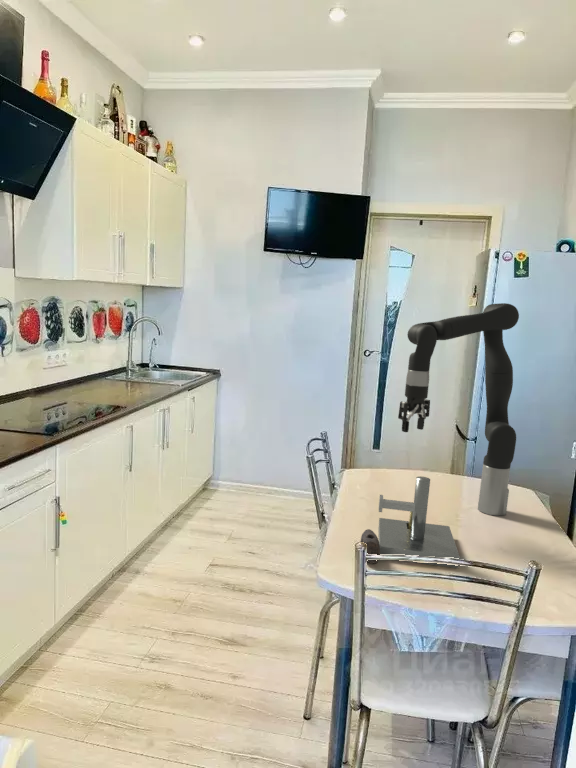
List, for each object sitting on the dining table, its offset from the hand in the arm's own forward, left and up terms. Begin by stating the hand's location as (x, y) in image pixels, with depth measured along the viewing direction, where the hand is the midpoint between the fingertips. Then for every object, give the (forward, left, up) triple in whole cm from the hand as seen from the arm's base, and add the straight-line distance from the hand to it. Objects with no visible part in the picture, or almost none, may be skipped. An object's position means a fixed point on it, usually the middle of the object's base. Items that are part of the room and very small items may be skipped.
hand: (412, 430), depth 187 cm
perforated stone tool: (+12, +36, -30) cm, 49 cm away
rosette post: (-2, +26, -30) cm, 40 cm away
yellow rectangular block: (-2, +19, -30) cm, 36 cm away
